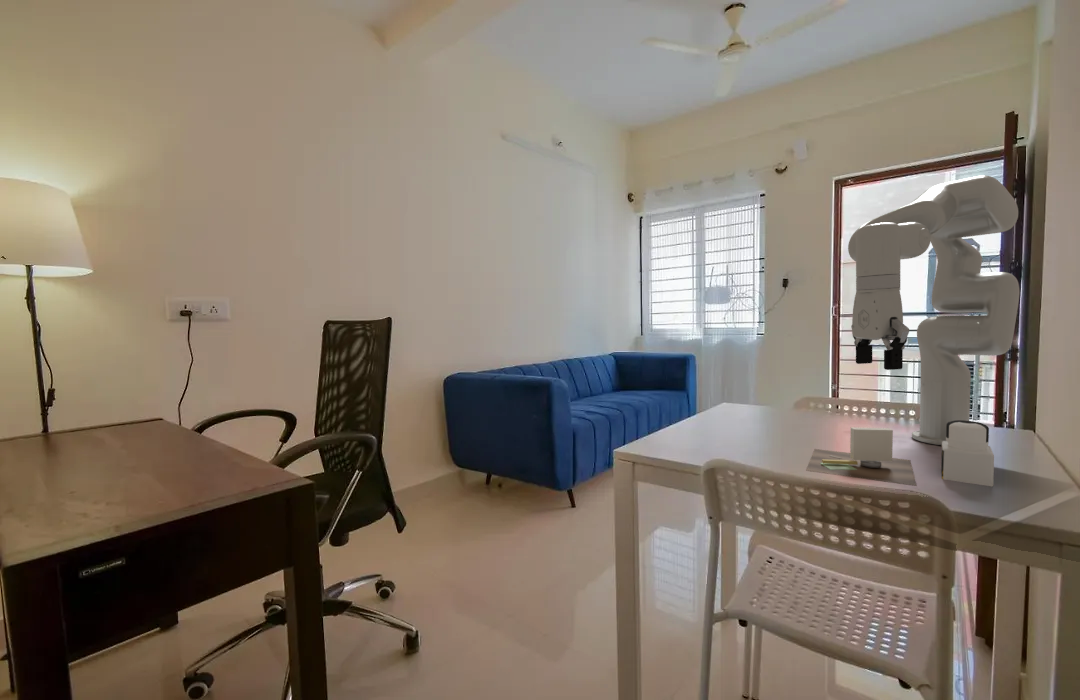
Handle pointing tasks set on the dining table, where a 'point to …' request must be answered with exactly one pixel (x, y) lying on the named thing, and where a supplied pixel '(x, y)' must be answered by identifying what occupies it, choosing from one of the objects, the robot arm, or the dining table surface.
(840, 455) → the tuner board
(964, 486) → the dining table surface
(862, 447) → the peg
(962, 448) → the medicine bottle
